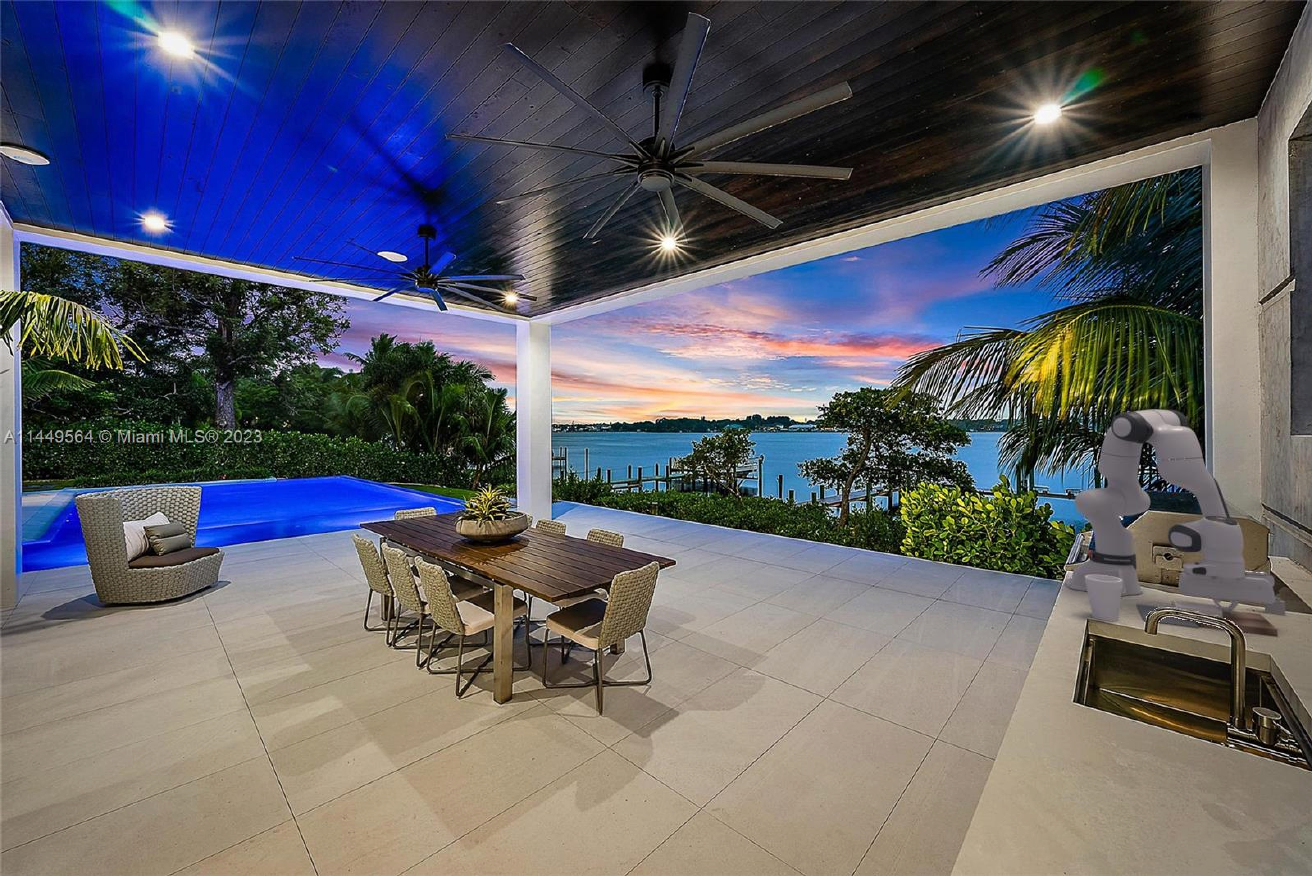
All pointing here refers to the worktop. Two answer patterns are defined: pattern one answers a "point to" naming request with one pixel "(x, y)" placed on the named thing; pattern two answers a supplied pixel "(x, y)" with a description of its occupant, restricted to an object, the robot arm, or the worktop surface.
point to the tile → (1198, 607)
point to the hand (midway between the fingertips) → (1225, 613)
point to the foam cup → (1104, 596)
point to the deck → (1248, 623)
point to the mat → (1168, 620)
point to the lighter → (1276, 607)
